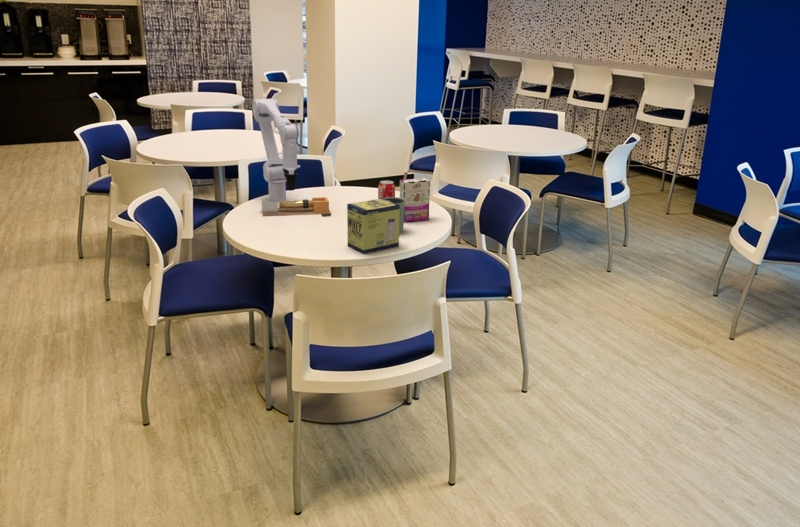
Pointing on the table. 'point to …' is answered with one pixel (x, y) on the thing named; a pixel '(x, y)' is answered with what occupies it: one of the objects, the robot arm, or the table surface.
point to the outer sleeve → (269, 206)
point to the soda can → (386, 189)
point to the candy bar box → (415, 199)
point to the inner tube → (297, 204)
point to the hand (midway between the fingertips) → (290, 188)
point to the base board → (297, 212)
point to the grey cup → (401, 212)
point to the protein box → (373, 225)
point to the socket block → (321, 204)
